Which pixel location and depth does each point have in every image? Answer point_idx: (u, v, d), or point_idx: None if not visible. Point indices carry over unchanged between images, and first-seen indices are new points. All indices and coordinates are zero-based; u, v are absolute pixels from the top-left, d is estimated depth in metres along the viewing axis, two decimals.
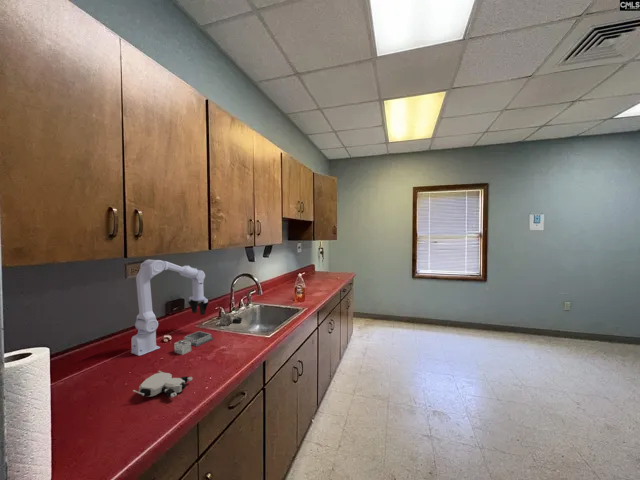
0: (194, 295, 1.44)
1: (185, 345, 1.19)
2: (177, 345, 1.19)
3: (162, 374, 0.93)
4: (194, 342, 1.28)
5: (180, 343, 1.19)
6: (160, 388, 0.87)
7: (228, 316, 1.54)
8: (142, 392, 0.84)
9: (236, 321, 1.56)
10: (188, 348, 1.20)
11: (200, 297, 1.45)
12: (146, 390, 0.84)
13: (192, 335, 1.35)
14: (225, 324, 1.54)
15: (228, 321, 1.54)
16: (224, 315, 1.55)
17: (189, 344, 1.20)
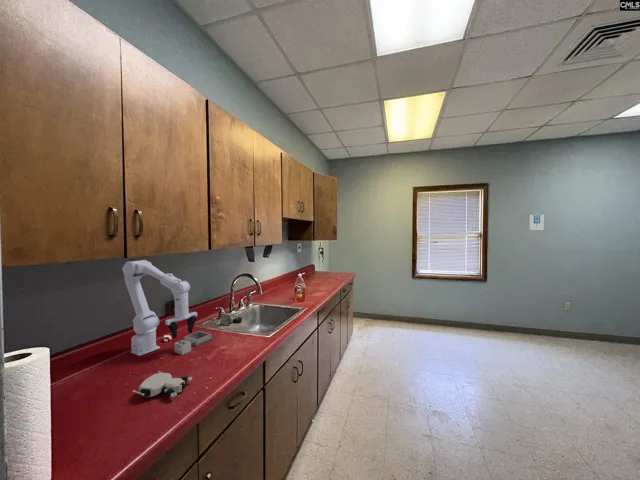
0: None
1: (185, 345, 1.19)
2: (177, 345, 1.19)
3: (162, 374, 0.93)
4: (194, 342, 1.28)
5: (180, 343, 1.19)
6: (160, 388, 0.86)
7: (228, 316, 1.55)
8: (142, 392, 0.84)
9: (236, 321, 1.56)
10: (188, 348, 1.20)
11: (175, 316, 1.18)
12: (145, 390, 0.84)
13: (192, 335, 1.35)
14: (225, 324, 1.54)
15: (228, 321, 1.54)
16: (224, 315, 1.55)
17: (189, 344, 1.20)
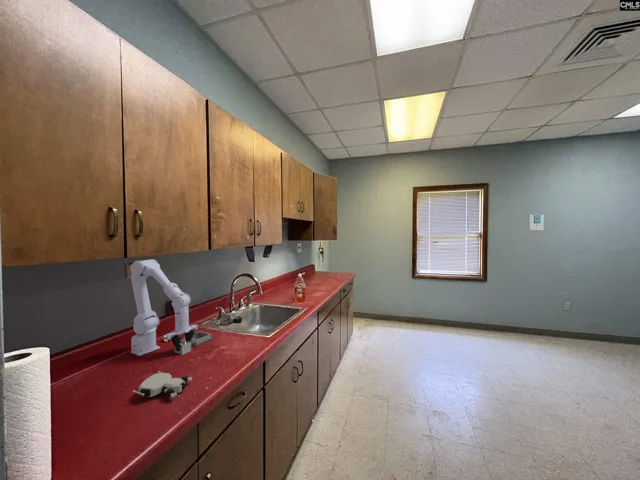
0: None
1: (185, 345, 1.19)
2: None
3: (162, 374, 0.93)
4: (194, 342, 1.28)
5: (180, 343, 1.19)
6: (160, 388, 0.86)
7: (228, 316, 1.55)
8: (142, 392, 0.84)
9: (236, 321, 1.56)
10: (188, 348, 1.20)
11: (176, 329, 1.18)
12: (145, 391, 0.84)
13: None
14: (225, 323, 1.55)
15: (228, 321, 1.55)
16: (224, 314, 1.56)
17: (189, 344, 1.20)
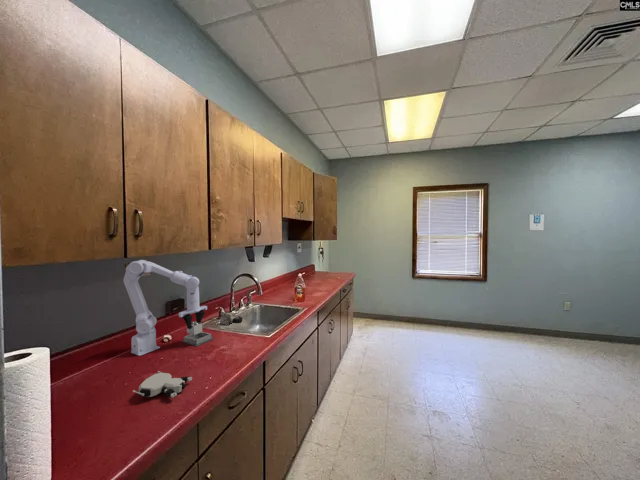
0: None
1: (197, 326, 1.27)
2: None
3: (162, 374, 0.93)
4: (194, 342, 1.28)
5: (192, 324, 1.28)
6: (160, 388, 0.86)
7: (228, 315, 1.56)
8: (142, 392, 0.84)
9: (236, 321, 1.56)
10: (199, 329, 1.29)
11: (187, 309, 1.27)
12: (145, 391, 0.84)
13: (192, 335, 1.35)
14: (225, 323, 1.56)
15: (228, 320, 1.55)
16: (224, 314, 1.56)
17: (200, 325, 1.29)
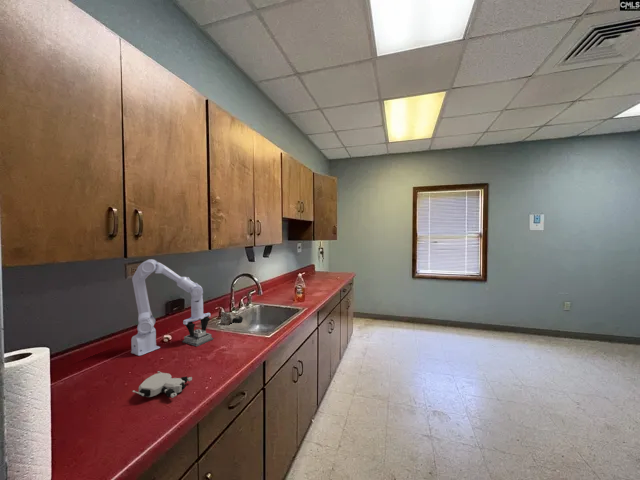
0: None
1: (201, 333, 1.31)
2: None
3: (161, 374, 0.93)
4: (194, 342, 1.28)
5: (196, 332, 1.32)
6: (160, 388, 0.86)
7: (228, 315, 1.56)
8: (142, 392, 0.84)
9: (236, 320, 1.57)
10: (203, 336, 1.32)
11: (192, 316, 1.31)
12: (145, 391, 0.84)
13: None
14: (225, 323, 1.56)
15: (228, 320, 1.56)
16: (225, 314, 1.57)
17: (204, 332, 1.33)
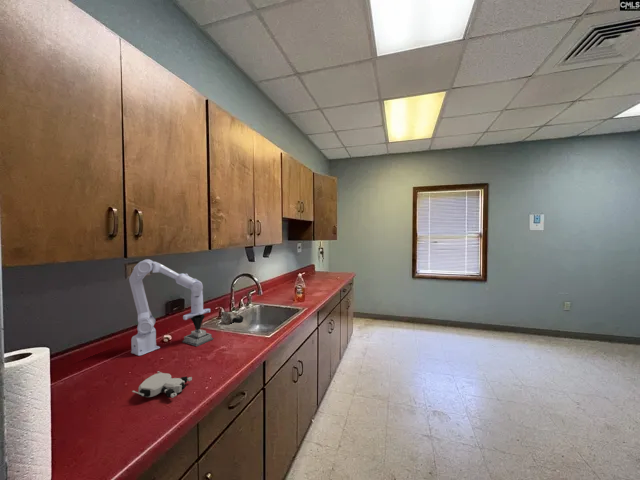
0: None
1: (201, 333, 1.31)
2: (193, 333, 1.31)
3: (161, 374, 0.93)
4: (194, 342, 1.28)
5: (196, 332, 1.32)
6: (160, 388, 0.86)
7: (228, 315, 1.57)
8: (142, 393, 0.84)
9: (236, 320, 1.57)
10: (203, 336, 1.32)
11: (191, 311, 1.31)
12: (145, 391, 0.84)
13: None
14: (226, 322, 1.57)
15: (228, 319, 1.57)
16: (225, 313, 1.58)
17: (204, 332, 1.33)
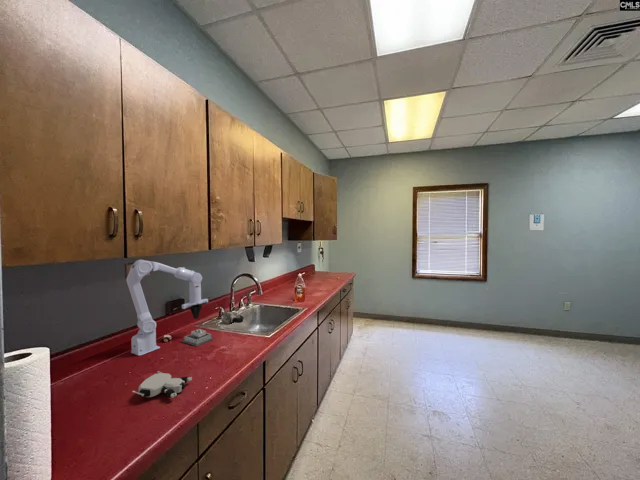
0: None
1: (201, 333, 1.31)
2: (193, 333, 1.31)
3: (161, 374, 0.93)
4: (194, 342, 1.28)
5: (196, 332, 1.32)
6: (160, 388, 0.86)
7: (229, 314, 1.58)
8: (142, 393, 0.84)
9: (236, 320, 1.57)
10: (203, 336, 1.32)
11: (190, 301, 1.37)
12: (145, 391, 0.84)
13: None
14: (226, 322, 1.58)
15: (228, 319, 1.57)
16: (225, 313, 1.59)
17: (204, 332, 1.33)
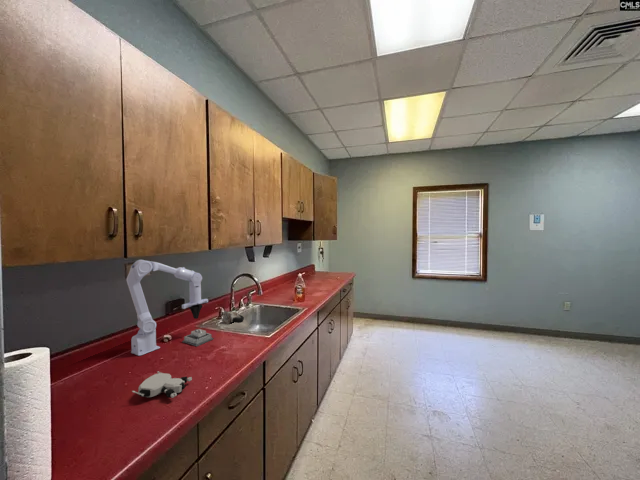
0: None
1: (201, 333, 1.31)
2: (193, 333, 1.31)
3: (161, 375, 0.93)
4: (194, 342, 1.28)
5: (196, 332, 1.32)
6: (160, 388, 0.86)
7: (229, 314, 1.58)
8: (142, 393, 0.84)
9: (236, 320, 1.58)
10: (203, 336, 1.32)
11: (190, 301, 1.37)
12: (145, 391, 0.84)
13: None
14: (226, 322, 1.58)
15: (228, 319, 1.58)
16: (226, 313, 1.59)
17: (204, 332, 1.33)
